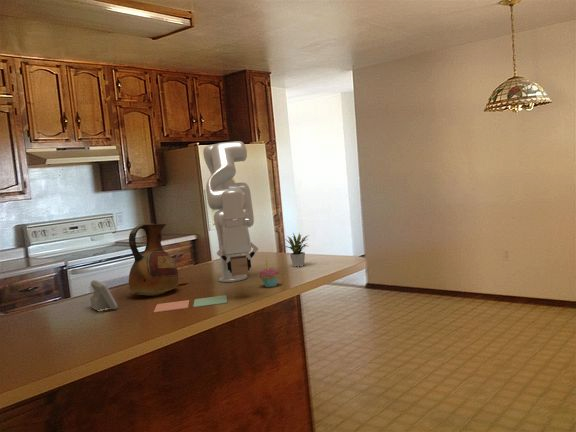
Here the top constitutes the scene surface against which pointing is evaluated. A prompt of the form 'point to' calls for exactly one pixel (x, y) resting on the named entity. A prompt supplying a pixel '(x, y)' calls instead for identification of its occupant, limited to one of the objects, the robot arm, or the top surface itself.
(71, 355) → the top surface
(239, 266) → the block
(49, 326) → the top surface
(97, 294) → the digital clock
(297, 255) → the house plant
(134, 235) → the ceramic pitcher
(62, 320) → the top surface
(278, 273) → the cupcake
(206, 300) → the mat
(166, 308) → the mat
